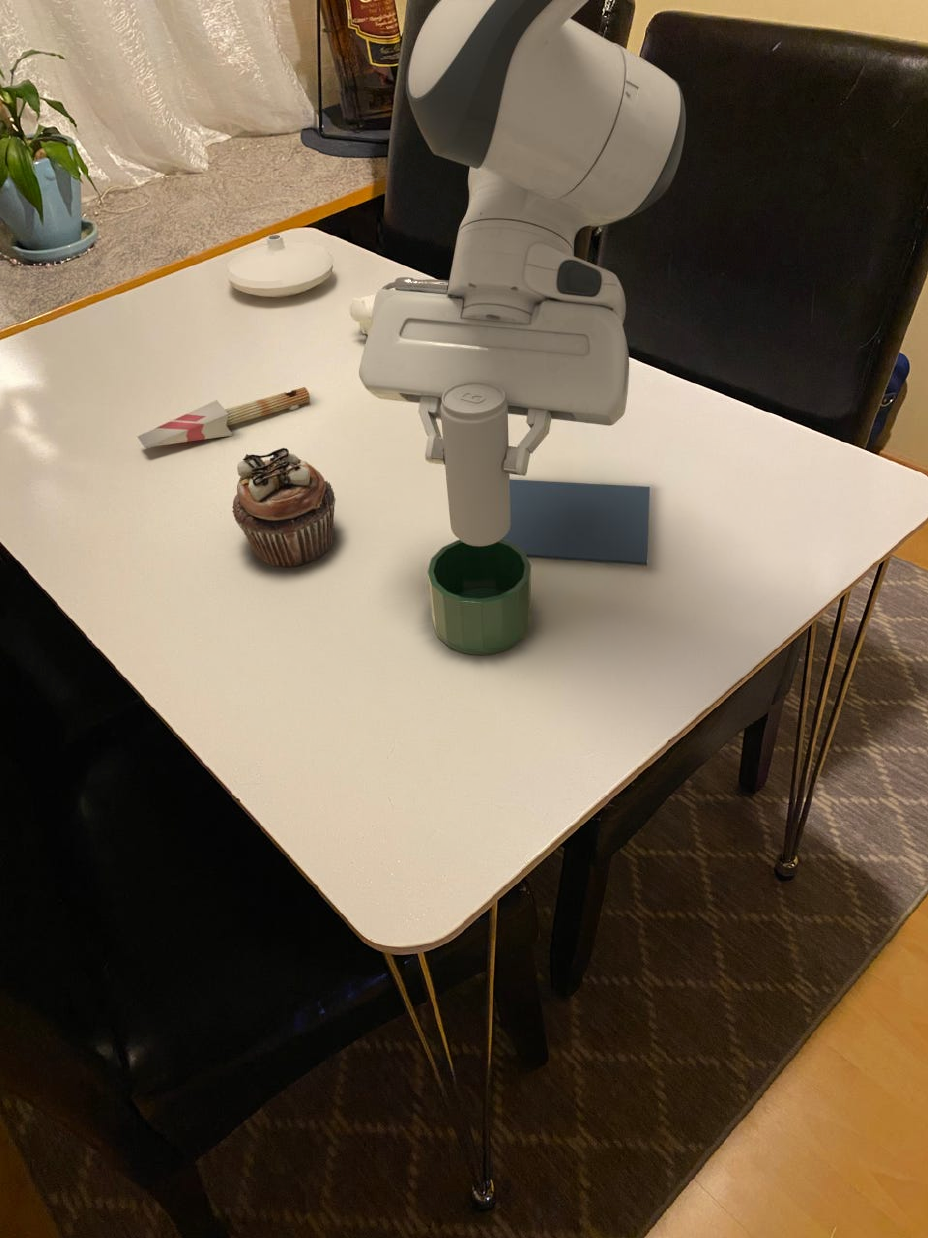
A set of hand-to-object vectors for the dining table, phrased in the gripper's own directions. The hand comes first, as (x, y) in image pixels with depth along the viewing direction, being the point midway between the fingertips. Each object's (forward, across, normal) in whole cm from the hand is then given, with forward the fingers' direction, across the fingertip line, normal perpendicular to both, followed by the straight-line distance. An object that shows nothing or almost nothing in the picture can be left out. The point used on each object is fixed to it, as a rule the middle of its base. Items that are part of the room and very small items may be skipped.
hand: (475, 468), depth 67 cm
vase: (-32, -50, +55) cm, 81 cm away
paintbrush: (-6, -38, +28) cm, 48 cm away
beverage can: (+4, 0, +5) cm, 7 cm away
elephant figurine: (-24, -30, +46) cm, 60 cm away
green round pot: (+11, 0, +12) cm, 16 cm away
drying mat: (0, +3, +23) cm, 23 cm away
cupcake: (+7, -21, +16) cm, 27 cm away
